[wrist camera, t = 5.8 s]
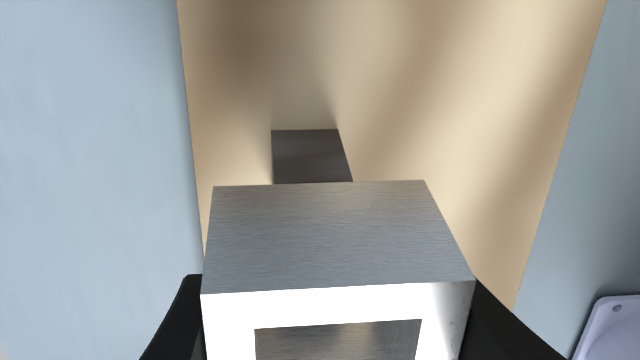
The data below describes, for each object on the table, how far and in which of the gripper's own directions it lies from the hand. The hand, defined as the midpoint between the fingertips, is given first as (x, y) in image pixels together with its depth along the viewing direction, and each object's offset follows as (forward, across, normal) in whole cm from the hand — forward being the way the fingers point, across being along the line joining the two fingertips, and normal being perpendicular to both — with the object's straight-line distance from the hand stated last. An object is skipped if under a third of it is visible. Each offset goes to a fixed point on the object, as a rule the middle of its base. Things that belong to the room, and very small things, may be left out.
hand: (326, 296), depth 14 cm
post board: (+8, -3, +2) cm, 9 cm away
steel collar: (+2, 0, 0) cm, 2 cm away
